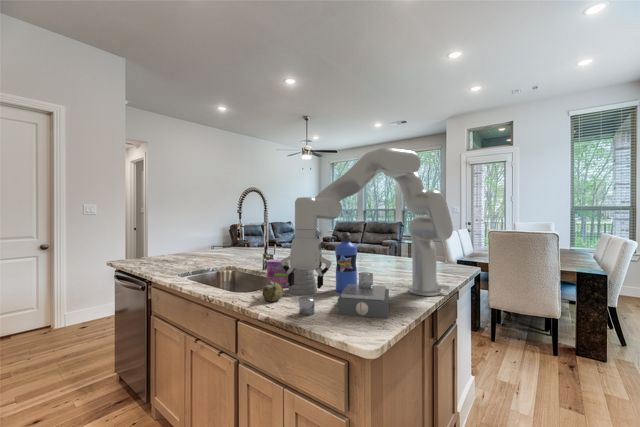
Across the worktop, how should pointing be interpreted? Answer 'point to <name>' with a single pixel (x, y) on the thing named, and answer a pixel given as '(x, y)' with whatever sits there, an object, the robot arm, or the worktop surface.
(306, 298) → the cylinder
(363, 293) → the pan
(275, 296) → the onion
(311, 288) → the soap bottle
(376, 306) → the base
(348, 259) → the blue bottle
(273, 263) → the box
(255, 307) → the worktop surface
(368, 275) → the cylinder
